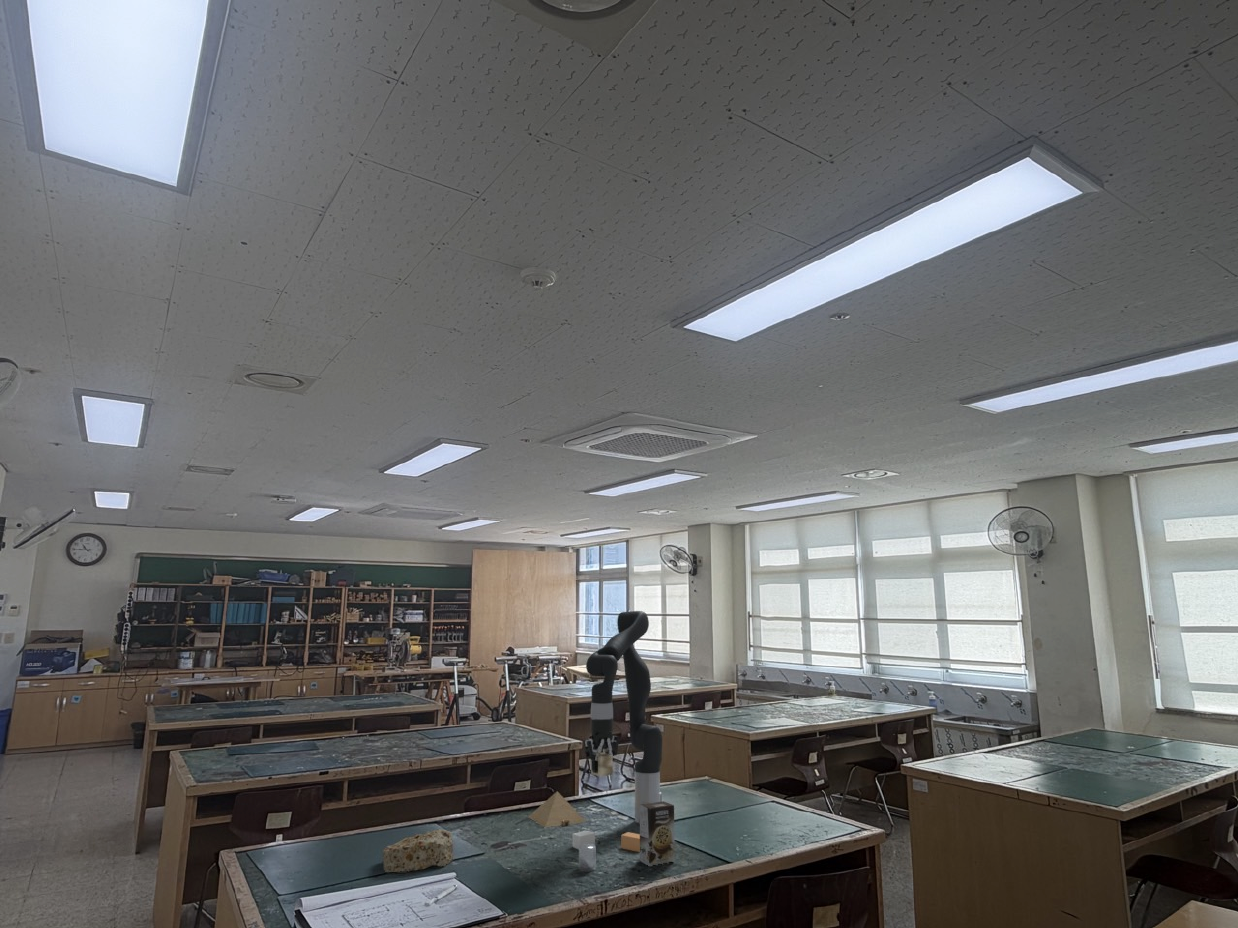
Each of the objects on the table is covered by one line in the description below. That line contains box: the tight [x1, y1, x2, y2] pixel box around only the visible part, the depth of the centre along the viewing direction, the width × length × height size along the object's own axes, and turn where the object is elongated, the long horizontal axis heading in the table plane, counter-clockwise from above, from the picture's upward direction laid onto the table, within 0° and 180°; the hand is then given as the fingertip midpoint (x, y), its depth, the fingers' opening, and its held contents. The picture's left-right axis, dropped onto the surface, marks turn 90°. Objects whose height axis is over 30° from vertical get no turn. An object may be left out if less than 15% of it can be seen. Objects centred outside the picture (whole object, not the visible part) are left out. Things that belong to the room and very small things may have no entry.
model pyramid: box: [528, 791, 587, 828], centre depth 258 cm, size 17×17×10 cm
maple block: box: [590, 752, 614, 777], centre depth 230 cm, size 5×5×6 cm
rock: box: [382, 829, 454, 873], centre depth 210 cm, size 21×14×10 cm
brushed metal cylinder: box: [578, 844, 597, 873], centre depth 207 cm, size 5×5×6 cm
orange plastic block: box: [620, 831, 640, 853], centre depth 225 cm, size 4×7×4 cm, turn 56°
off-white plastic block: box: [572, 830, 596, 850], centre depth 227 cm, size 6×4×4 cm, turn 128°
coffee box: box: [639, 800, 675, 867], centre depth 214 cm, size 9×6×16 cm
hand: (601, 770), depth 229 cm, fingers closed on maple block, 5 cm apart
